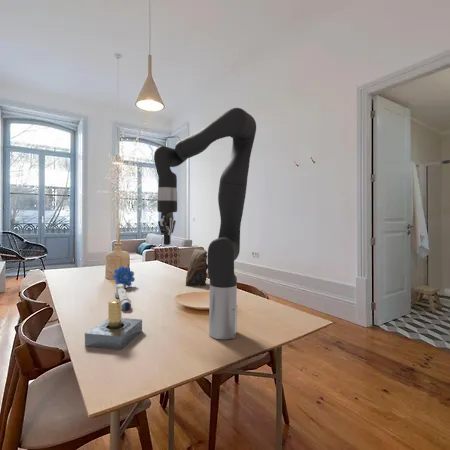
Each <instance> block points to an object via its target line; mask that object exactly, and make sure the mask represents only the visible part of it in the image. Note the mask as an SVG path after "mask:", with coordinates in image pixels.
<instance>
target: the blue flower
mask: <svg viewBox="0 0 450 450" xmlns="http://www.w3.org/2000/svg"><path fill="white" fill-rule="evenodd" d="M113 273H114V274H112V279H114V280H115V281H114V282H115V283H114V284H116V286H117V285H118V284H123V285H124V288H126V287H130V286H132V283H133V282H135V277H134V275H135V272H134V271H132V270H131V268H130V267H129V266H126V267H125V266H123V265H120V266H119V267H118V268H116V269H114V271H113Z"/></svg>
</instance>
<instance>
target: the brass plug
mask: <svg viewBox="0 0 450 450" xmlns="http://www.w3.org/2000/svg"><path fill="white" fill-rule="evenodd" d="M107 304H108V306H107V307H108V309H107V311H108V312H107V314H108V316H107V317H108V318H107V319H108V329H119V328H122V318H123V317H122V314H123V313H122V311H123V310H122V301H120V300H119V299H116V300H115V299H114V300H109V301H108V303H107Z"/></svg>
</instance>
